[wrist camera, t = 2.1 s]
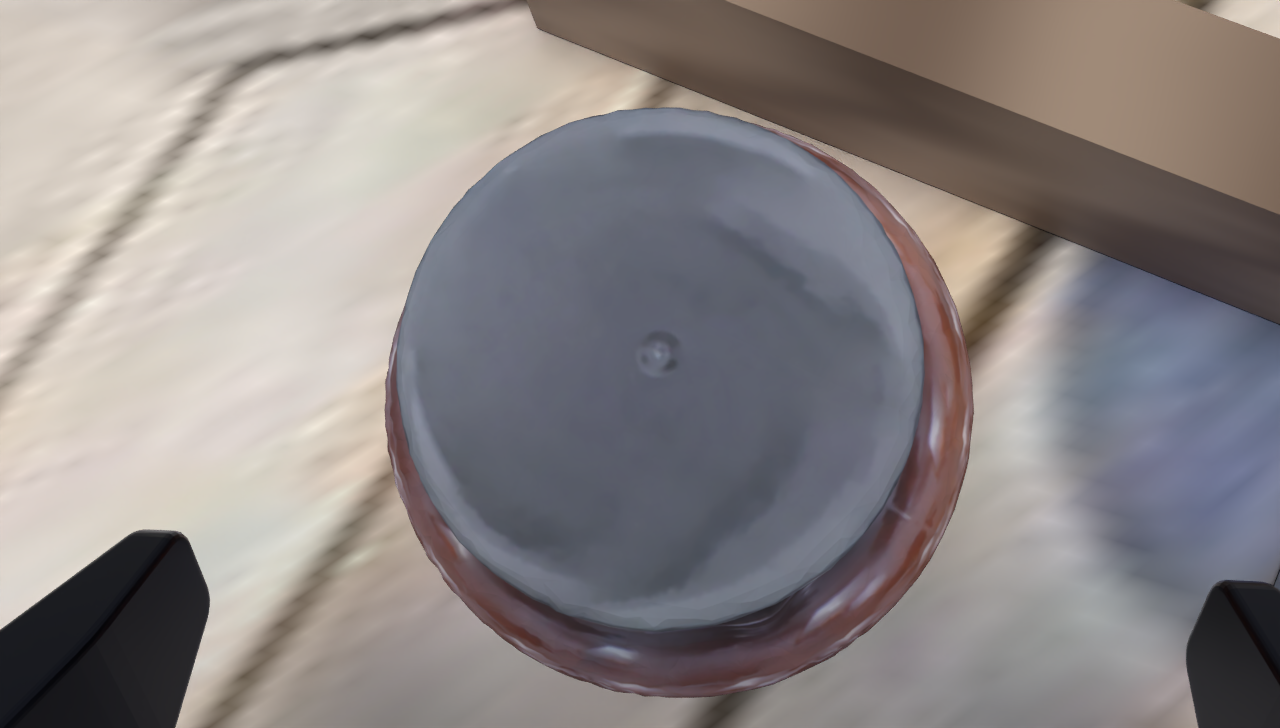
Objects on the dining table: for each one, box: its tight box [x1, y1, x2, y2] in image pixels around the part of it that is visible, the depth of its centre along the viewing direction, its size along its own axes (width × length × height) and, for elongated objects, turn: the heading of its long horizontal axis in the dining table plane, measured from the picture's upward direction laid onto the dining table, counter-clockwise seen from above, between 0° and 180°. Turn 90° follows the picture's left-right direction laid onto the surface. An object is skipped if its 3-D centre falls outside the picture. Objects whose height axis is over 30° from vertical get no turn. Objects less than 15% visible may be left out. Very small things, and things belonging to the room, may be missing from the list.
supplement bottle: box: [385, 108, 974, 698], centre depth 14 cm, size 6×6×11 cm
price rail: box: [527, 0, 1280, 590], centre depth 16 cm, size 26×13×4 cm, turn 66°
